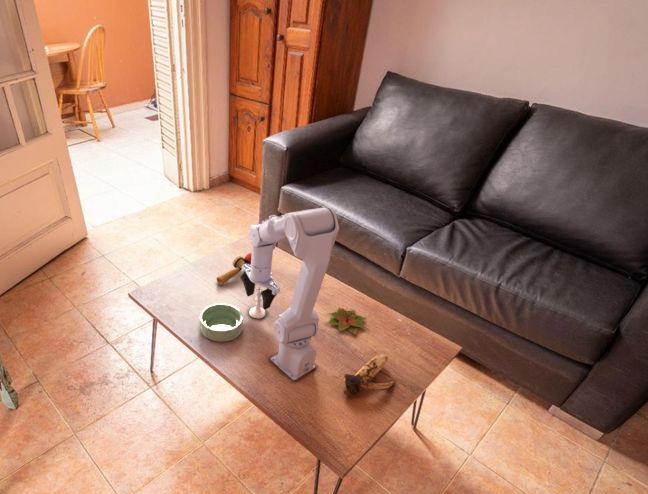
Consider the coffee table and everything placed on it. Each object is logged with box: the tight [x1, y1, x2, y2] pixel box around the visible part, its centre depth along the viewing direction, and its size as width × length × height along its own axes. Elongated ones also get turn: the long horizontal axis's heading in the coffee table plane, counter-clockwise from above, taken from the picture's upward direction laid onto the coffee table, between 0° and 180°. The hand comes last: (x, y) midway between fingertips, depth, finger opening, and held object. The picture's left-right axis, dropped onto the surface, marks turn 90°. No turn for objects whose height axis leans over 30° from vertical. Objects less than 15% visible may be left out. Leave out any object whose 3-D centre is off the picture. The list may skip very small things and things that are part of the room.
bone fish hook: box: [343, 353, 395, 398], centre depth 109 cm, size 9×5×18 cm
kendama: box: [216, 252, 252, 286], centre depth 144 cm, size 8×6×18 cm
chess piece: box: [248, 286, 266, 319], centre depth 127 cm, size 5×5×10 cm
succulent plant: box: [327, 306, 367, 336], centre depth 127 cm, size 12×12×5 cm
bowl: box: [199, 302, 244, 342], centre depth 124 cm, size 12×12×4 cm
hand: (258, 301), depth 128 cm, fingers open, 7 cm apart
